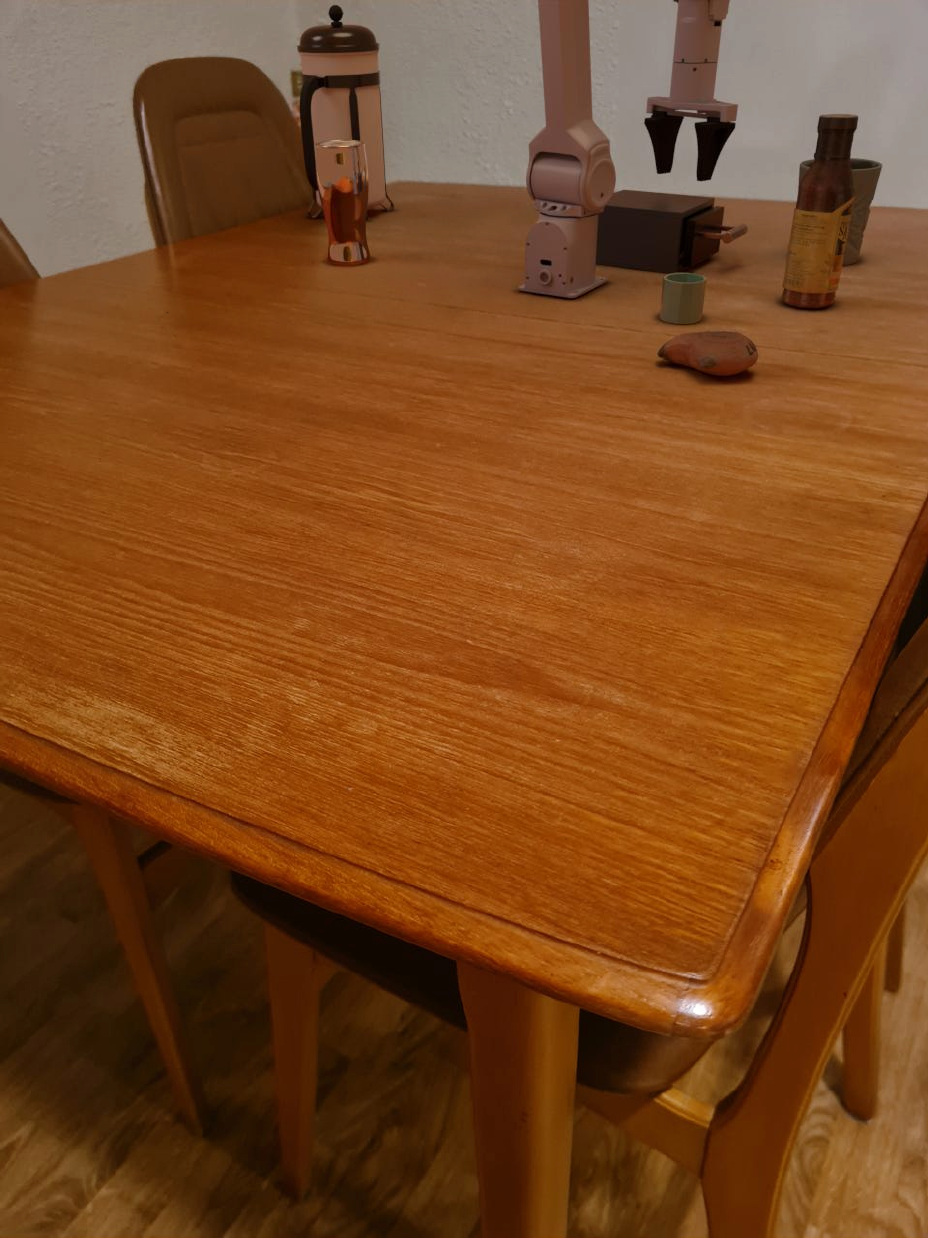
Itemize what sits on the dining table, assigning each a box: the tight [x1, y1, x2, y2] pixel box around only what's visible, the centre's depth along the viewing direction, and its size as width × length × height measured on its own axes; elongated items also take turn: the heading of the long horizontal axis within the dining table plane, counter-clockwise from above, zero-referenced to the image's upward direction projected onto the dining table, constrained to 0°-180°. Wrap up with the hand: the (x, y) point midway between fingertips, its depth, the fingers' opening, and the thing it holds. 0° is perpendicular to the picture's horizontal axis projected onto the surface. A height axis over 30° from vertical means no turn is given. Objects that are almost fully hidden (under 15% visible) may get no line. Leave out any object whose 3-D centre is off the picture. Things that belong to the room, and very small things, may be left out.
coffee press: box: [296, 4, 395, 222], centre depth 153 cm, size 17×16×30 cm
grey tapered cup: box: [797, 157, 883, 266], centre depth 128 cm, size 10×10×12 cm
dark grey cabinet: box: [596, 189, 716, 274], centre depth 131 cm, size 14×12×8 cm
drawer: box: [679, 205, 749, 269], centre depth 129 cm, size 17×10×6 cm, turn 57°
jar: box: [659, 272, 707, 325], centre depth 108 cm, size 5×5×4 cm
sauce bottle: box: [781, 113, 859, 309], centre depth 108 cm, size 7×6×20 cm
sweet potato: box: [656, 329, 759, 377], centre depth 94 cm, size 9×4×8 cm
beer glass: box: [315, 140, 372, 267], centre depth 131 cm, size 7×7×15 cm
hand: (683, 176), depth 131 cm, fingers open, 7 cm apart
